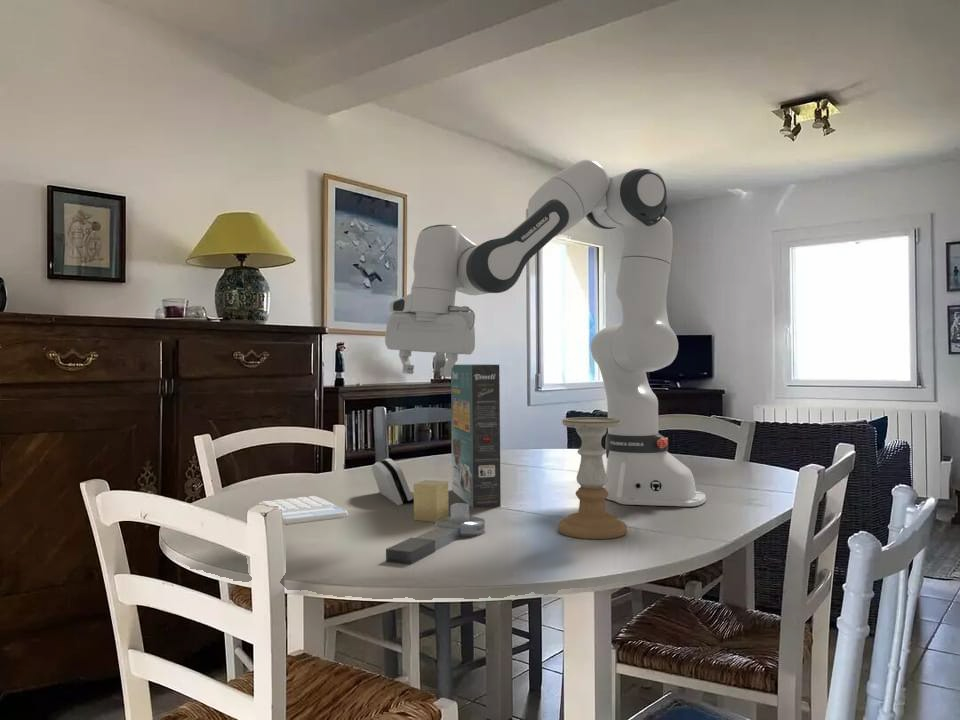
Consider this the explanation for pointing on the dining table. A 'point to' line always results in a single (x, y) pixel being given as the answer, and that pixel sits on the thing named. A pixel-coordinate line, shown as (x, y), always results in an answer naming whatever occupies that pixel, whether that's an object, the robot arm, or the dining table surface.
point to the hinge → (391, 481)
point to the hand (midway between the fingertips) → (426, 375)
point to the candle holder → (592, 484)
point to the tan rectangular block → (430, 500)
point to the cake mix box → (476, 434)
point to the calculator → (306, 509)
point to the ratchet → (437, 536)
